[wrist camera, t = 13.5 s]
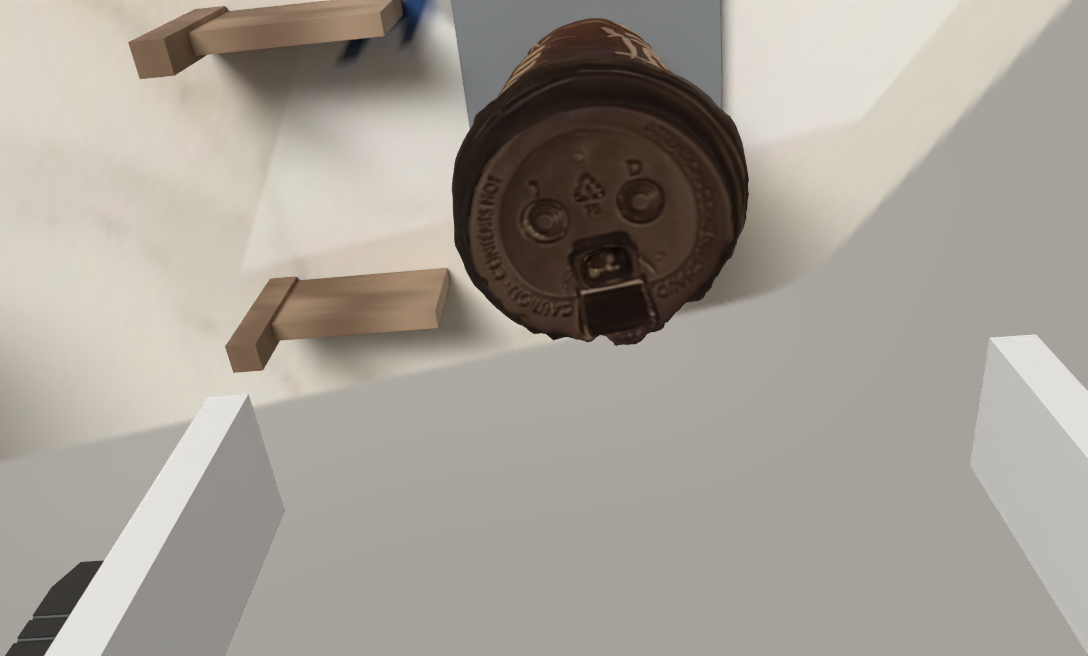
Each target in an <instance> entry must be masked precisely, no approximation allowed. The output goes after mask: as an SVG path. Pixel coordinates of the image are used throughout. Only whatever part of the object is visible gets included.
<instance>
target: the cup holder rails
mask: <svg viewBox="0 0 1088 656" xmlns="http://www.w3.org/2000/svg"><path fill="white" fill-rule="evenodd" d="M402 16H403V10H402V5H401V0H330V1H320V2H311V3H302V4H292V5H283V6H274V7H265V8H255V9H246V10H237V11H227V12H226V8H225V6H222V7H213V8H204V9H195V10H193V11H191V12H189V13H187V14H185V15H183V16H181V17H179V18H177V19H175V20H173V21H171V22H168V23H166V24H164V25H162V26H160V27H158V28H156V29H154V30H152V31H150V32H148V33H146V34H144V35H142V36H140V37H138V38H136V39H134V40H132V41H130V42H128V43H129V46H130V49H131V52H132V56H133V59H134V62H135V65H136V68H137V71H138V74H139V78H140V79H145V78H155V77H165V76H174V75H176V74H178V73H179V72H181V71H182V70H184V69H186V68H187V67H189V66H190V65H192V64H193V63H195V62H197V61H198V60H200V59H201V58H203V57H204V56H206V55H208V54H218V53H228V52H237V51H247V50H256V49H266V48H276V47H285V46H295V45H304V44H314V43H324V42H333V41H343V40H352V39H362V38H372V37H381V36H385V35H386V34H387V33H388V32H389V30H390V29H391V28H392V27H393V26H394V25H395V24H396V22H397V21H398V20H399V19H400V18H401V17H402ZM449 286H450V282H449V276H448V270H447V268H443V269H431V270H419V271H407V272H395V273H383V274H371V275H359V276H347V277H335V278H324V279H312V280H300V281H297V278H296V277H287V278H275V279H270V280H269V281H268V283H267V284H266V286H265V287H264V289H263V290H262V292H261V293H260V295H259V296H258V298H257V299H256V301H255V302H254V304H253V305H252V307H251V308H250V310H249V311H248V313H247V314H246V316H245V317H244V319H243V320H242V322H241V323H240V325H239V327H238V328H237V330H236V331H235V333H234V334H233V336H232V337H231V339H230V340H229V342H228V343H227V345H226V346H225V348H226V351H227V354H228V357H229V360H230V363H231V366H232V369H233V373H235V372H248V371H261V370H263V369H264V368H265V366H266V364H267V362H268V360H269V359H270V357H271V355H272V353H273V352H274V350H275V348H276V346H277V345H278V343H279V341H280V340H292V339H304V338H317V337H330V336H342V335H355V334H368V333H380V332H393V331H406V330H418V329H431V328H438V327H439V323H440V320H441V316H442V312H443V308H444V305H445V301H446V297H447V293H448V290H449Z"/></svg>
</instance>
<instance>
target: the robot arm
mask: <svg viewBox="0 0 1088 656" xmlns="http://www.w3.org/2000/svg"><path fill="white" fill-rule="evenodd" d="M970 466H971V468H972V470H973V471H974V473H975V475H976V476H977V478H978V479H979V481H980V483H981V484H982V486H983V487H984V489H985V491H986V492H987V494H988V496H989V497H990V499H991V500H992V502H993V504H994V505H995V507H996V508H997V510H998V512H999V513H1000V515H1001V516H1002V518H1003V520H1004V521H1005V523H1006V524H1007V526H1008V528H1009V529H1010V531H1011V532H1012V534H1013V536H1014V537H1015V539H1016V541H1017V542H1018V544H1019V545H1020V547H1021V549H1022V550H1023V552H1024V553H1025V555H1026V557H1027V558H1028V560H1029V561H1030V563H1031V565H1032V566H1033V568H1034V569H1035V571H1036V573H1037V574H1038V576H1039V577H1040V579H1041V581H1042V582H1043V584H1044V585H1045V587H1046V589H1047V590H1048V592H1049V594H1050V595H1051V597H1052V598H1053V600H1054V602H1055V603H1056V605H1057V606H1058V608H1059V610H1060V611H1061V613H1062V614H1063V616H1064V618H1065V619H1066V621H1067V622H1068V624H1069V626H1070V627H1071V629H1072V631H1073V632H1074V634H1075V635H1076V637H1077V639H1078V640H1079V642H1080V643H1081V645H1082V647H1083V648H1084V650H1085V651H1086V653H1087V655H1088V391H1087V390H1086V389H1085V388H1084V387H1083V386H1082V385H1081V384H1080V383H1079V381H1078V380H1077V379H1076V378H1075V377H1074V376H1073V375H1072V374H1071V373H1070V372H1069V370H1068V369H1067V368H1066V367H1065V366H1064V365H1063V364H1062V363H1061V362H1060V361H1059V359H1058V358H1057V357H1056V356H1055V355H1054V354H1053V353H1052V352H1051V351H1050V350H1049V348H1048V347H1047V346H1046V345H1045V344H1044V343H1043V342H1042V341H1041V340H1040V339H1039V338H1038V336H1037V335H1036V334H1035V335H1023V336H1022V335H1021V336H1008V337H995V338H990V339H989V345H988V352H987V359H986V365H985V372H984V379H983V385H982V391H981V398H980V404H979V410H978V418H977V423H976V430H975V436H974V443H973V450H972V457H971V462H970ZM284 512H285V510H284V507H283V503H282V500H281V497H280V493H279V490H278V487H277V484H276V481H275V477H274V474H273V471H272V468H271V465H270V462H269V458H268V455H267V452H266V449H265V445H264V442H263V439H262V436H261V433H260V429H259V427H258V423H257V420H256V417H255V413H254V410H253V407H252V404H251V401H250V397H249V394H240V395H226V396H213V397H207V399H206V400H205V402H204V404H203V405H202V407H201V408H200V410H199V412H198V413H197V415H196V416H195V418H194V419H193V421H192V423H191V424H190V426H189V427H188V429H187V431H186V432H185V434H184V435H183V437H182V438H181V440H180V442H179V443H178V445H177V446H176V448H175V450H174V451H173V453H172V455H171V456H170V458H169V459H168V461H167V462H166V464H165V466H164V467H163V469H162V470H161V472H160V473H159V475H158V477H157V478H156V480H155V481H154V483H153V484H152V486H151V488H150V489H149V491H148V492H147V494H146V495H145V497H144V499H143V500H142V502H141V504H140V505H139V506H138V508H137V510H136V511H135V513H134V514H133V516H132V518H131V519H130V521H129V522H128V524H127V525H126V527H125V529H124V530H123V532H122V533H121V535H120V537H119V538H118V540H117V541H116V543H115V544H114V546H113V548H112V549H111V551H110V552H109V554H108V556H107V557H106V559H105V560H104V561H91V562H80V563H79V564H78V565H77V566H76V567H75V568H73V569H72V570H71V571H70V572H69V573H68V574H66V575H65V576H64V577H63V578H62V579H61V580H60V581H58V582H57V583H56V584H55V585H54V586H53V587H52V588H51V589H50V591H49V592H48V594H47V595H46V596H45V598H44V599H43V601H42V602H41V604H40V605H39V607H38V608H37V610H36V611H35V613H34V614H33V620H29V622H28V623H27V624H26V626H25V628H24V629H23V630H22V632H21V633H20V635H19V636H18V642H17V643H14V644H13V645H12V646H11V648H10V649H9V651H8V652H7V654H6V655H5V656H225V654H226V651H227V649H228V646H229V644H230V642H231V639H232V637H233V635H234V632H235V630H236V627H237V625H238V623H239V620H240V618H241V615H242V613H243V610H244V608H245V606H246V603H247V601H248V598H249V596H250V594H251V591H252V589H253V586H254V584H255V582H256V579H257V577H258V574H259V572H260V569H261V567H262V564H263V562H264V560H265V557H266V555H267V553H268V550H269V548H270V545H271V543H272V540H273V538H274V536H275V533H276V531H277V528H278V526H279V524H280V521H281V519H282V517H283V514H284Z"/></svg>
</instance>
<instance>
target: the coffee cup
mask: <svg viewBox="0 0 1088 656" xmlns="http://www.w3.org/2000/svg"><path fill="white" fill-rule="evenodd" d="M748 181H749V179H748V172H747V165H746V160H745V155H744V150H743V144H742V141H741V138H740V135H739V133H738V130H737V128H736V125H735V123H734V122H733V120H732V119H731V117H730V116H728V115H727V114H726V113H724V111H723V110H722V109H721V108H719V107H718V106H717V105H716V103H715V102H714V101H713V100H712V99H711V97H710V96H708V95H707V94H706V93H705V92H703V91H702V90H701V89H700V88H698V87H697V86H696V85H694V84H693V83H691V82H689V81H688V80H686V79H685V78H683V77H680V76H678V75H675V74H674V73H672V72H671V71H670V70H669V69H668V68H667V66H666V65H665V64H664V62H663V61H662V60H661V58H660V57H659V56H658V54H657V53H655V51H654V50H653V48H652V47H651V46H650V45H649V44H648V43H647V42H646V41H645V40H644V39H643V38H642V37H641V36H639V35H638V34H637V33H635V32H634V31H632V30H631V29H629V28H628V27H627V26H625V25H623V24H621V23H618V22H612V21H610V20H608V19H606V18H588V19H582V20H578V21H575V22H572V23H569V24H566V25H564V26H562V27H559V28H557V29H555V30H553V31H552V32H551V33H549V34H548V35H546V36H545V37H543V38H542V39H541V40H540V41H539V42H537V43H536V44H535V45H534V46H533V47H532V48H531V49H530V50H529V51H528V53H527V55H526V56H525V58H524V59H523V60H522V61H521V62H520V63H519V64H518V66H517V67H516V68H515V69H514V71H513V72H512V73H511V75H510V77H509V78H508V80H507V81H506V83H505V85H504V87H503V89H502V90H501V92H500V93H499V95H498V97H497V98H495V99H493V100H492V101H491V102H490V103H488V104H487V105H486V106H485V107H484V109H482V110H481V111H479V112H478V113H477V114H476V115H475V118H474V121H473V125H472V127H471V129H470V130H469V132H468V133H467V135H466V137H465V139H464V141H463V143H462V145H461V147H460V149H459V151H458V154H457V157H456V159H455V165H454V173H453V180H452V195H453V218H454V240H455V246H456V248H457V250H458V252H459V254H460V256H461V259H462V261H463V263H464V266H465V269H466V271H467V273H468V275H469V277H470V279H471V281H472V282H473V284H474V285H475V286H476V288H478V289H479V290H480V291H481V292H482V293H483V294H484V295H485V297H486V298H487V299H488V300H489V301H490V302H491V303H492V304H493V305H494V306H495V307H496V308H497V309H498V310H500V311H501V312H502V313H503V314H504V315H506V316H507V317H508V318H510V319H511V320H513V321H514V322H516V323H517V324H519V325H523V326H524V327H526V328H527V329H528V330H529V331H530V332H532V333H533V334H539V333H543V334H547V335H548V336H549V337H550V338H551V339H553V340H556V339H560V338H563V337H570V338H574V339H577V340H578V339H579V340H583V341H586V342H590V341H593V340H594V339H595V338H596V337H597V336H599V335H603V336H607V337H608V338H609V339H610V340H611V341H612V342H613V343H614V345H616V346H617V345H622V344H625V345H630V344H637V343H638V342H640V341H642V340H643V338H644V337H645V336H646V335H647V334H648V333H650V332H656V331H659V330H661V329H662V328H663V327H664V325H665V322H668V321H669V320H670V319H671V317H672V316H673V315H674V314H675V313H676V312H677V311H678V310H680V308H681V307H682V306H683V305H684V304H685V303H686V302H692V301H698V300H701V299H702V298H704V296H705V294H706V292H707V291H708V290H709V289H710V288H711V287H712V283H713V281H714V279H715V278H716V277H717V276H718V274H719V272H720V271H721V269H722V267H723V266H724V264H725V263H726V261H727V260H728V259H730V258H731V257H732V255H733V252H734V249H735V246H736V244H737V239H738V237H739V235H740V234H741V232H742V229H743V227H744V224H745V220H746V211H747V202H748V195H749V193H748Z"/></svg>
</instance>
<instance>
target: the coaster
mask: <svg viewBox="0 0 1088 656" xmlns="http://www.w3.org/2000/svg"><path fill="white" fill-rule="evenodd" d="M451 3H452V10H453V17H454V24H455V31H456V37H457V44H458V51H459V58H460V65H461V71H462V78H463V85H464V92H465V99H466V105H467V112H468V119H469V126H470V129H471V127H472V125H473V121H474V118H475V115H476V114H477V113H478V112H479V111H481V110H482V109H484V107H485V106H486V105H487V104H488V103H490V102H491V101H492V100H493V99H495V98H497V97H498V95H499V93H500V92H501V90H502V89H503V87H504V85H505V83H506V81H507V80H508V78H509V77H510V75H511V73H512V72H513V71H514V69H515V68H516V67H517V66H518V64H519V63H520V62H521V61H522V60H523V59H524V58H525V56H526V55H527V53H528V51H529V50H530V49H531V48H532V47H533V46H534V45H535V44H536V43H537V42H539V41H540V40H541V39H542V38H543V37H545V36H546V35H548V34H549V33H551V32H552V31H553V30H555V29H557V28H559V27H562V26H564V25H566V24H569V23H572V22H575V21H578V20H582V19H588V18H606V19H608V20H610V21H612V22H618V23H621V24H623V25H625V26H627V27H628V28H629V29H631V30H632V31H634V32H635V33H637V34H638V35H639V36H641V37H642V38H643V39H644V40H645V41H646V42H647V43H648V44H649V45H650V46H651V47H652V48H653V50H654V51H655V53H657V54H658V56H659V57H660V58H661V60H662V61H663V62H664V64H665V65H666V66H667V68H668V69H669V70H670V71H671V72H672V73H674V74H675V75H678V76H680V77H683V78H685V79H686V80H688V81H689V82H691V83H693V84H694V85H696V86H697V87H698V88H700V89H701V90H702V91H703V92H705V93H706V94H707V95H708V96H710V97H711V99H712V100H713V101H714V102H715V103H716V105H717V106H718V107H719V108H721V109H722V101H721V4H720V0H451Z"/></svg>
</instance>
